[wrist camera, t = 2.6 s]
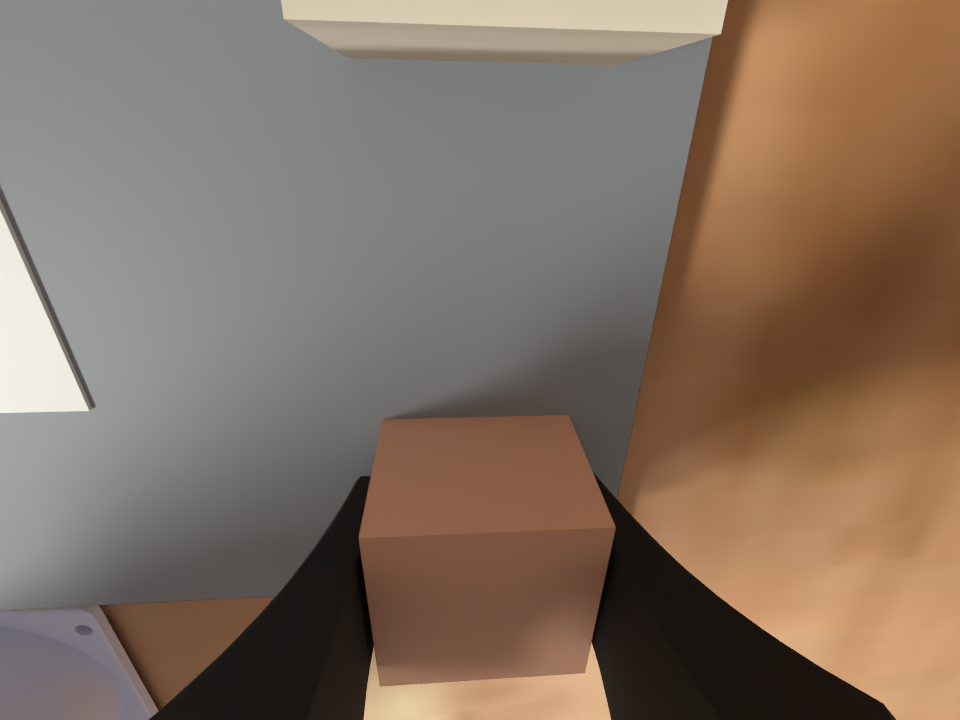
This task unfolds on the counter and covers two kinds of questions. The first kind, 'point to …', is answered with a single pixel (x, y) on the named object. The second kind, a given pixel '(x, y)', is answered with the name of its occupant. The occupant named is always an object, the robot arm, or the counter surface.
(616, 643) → the robot arm
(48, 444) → the board
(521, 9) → the top block
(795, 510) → the counter surface
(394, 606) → the base block
